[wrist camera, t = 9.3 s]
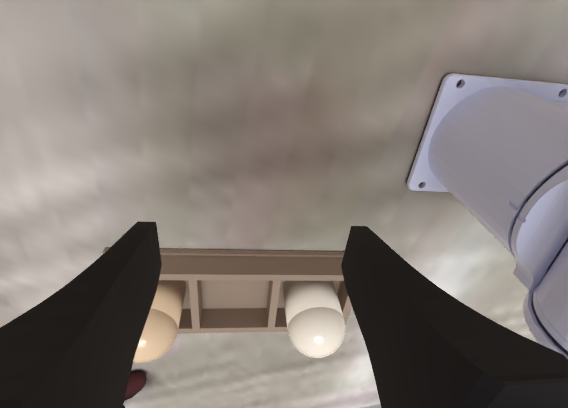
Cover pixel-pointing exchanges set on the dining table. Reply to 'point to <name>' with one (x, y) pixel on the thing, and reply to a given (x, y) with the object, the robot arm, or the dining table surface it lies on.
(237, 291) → the egg carton
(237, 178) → the dining table surface
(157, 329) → the tan egg
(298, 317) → the cream egg
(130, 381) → the brown plush toy
